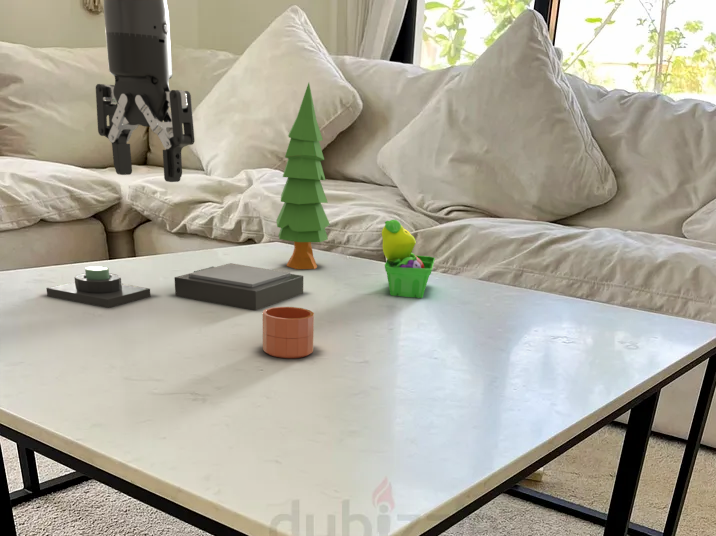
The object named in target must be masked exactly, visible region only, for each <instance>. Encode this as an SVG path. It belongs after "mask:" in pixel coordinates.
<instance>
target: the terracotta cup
mask: <svg viewBox="0 0 716 536" xmlns="http://www.w3.org/2000/svg"><path fill="white" fill-rule="evenodd" d="M314 333H315V312H313V311H312V310H310V309H306V308H303V307H296V306H273V307H267V308H266V309H265V308H264V309H263V311H262V351H264V353H266V354H268V355H269V356H272V357H275V358H281V359H299V358H304V357H305V358H306V357H308V356H309V355H311V354H313V353H314V336H315V335H314Z"/></svg>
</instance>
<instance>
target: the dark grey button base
mask: <svg viewBox="0 0 716 536" xmlns="http://www.w3.org/2000/svg"><path fill="white" fill-rule="evenodd" d="M109 276H110V279H105V280H91V279H86V273H81V274H76V275H75V276H74V281H72V282H68V283H63V284H58V285H53V286H49V287H46V296H47V297H51V298H55V299H59V300H66V301H70V302H76V303H79V304H86V305H91V306H96V307H101V308H106V309H109V308H114V307H118V306H122V305H124V304H128V303H132V302H136V301H140V300H144V299H146V298H151V296H152V295H151V288H148V287H143V286H137V285H133V284H126V283H122V276H121V275H118V274H117V273H110V272H109Z"/></svg>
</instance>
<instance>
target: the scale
mask: <svg viewBox="0 0 716 536" xmlns="http://www.w3.org/2000/svg"><path fill="white" fill-rule="evenodd" d="M173 279H174V292H175V293H174V294H175V297H178V298H185V299H189V300H190V299H191V300H195V301H201V302H207V303H211V304H217V305H222V306H229V307H233V308H234V307H235V308H239V309H246V310H250V311H258V310H262V309H265V308H268V307H270V306H273V305H275V304H279V303H281V302H283V301H287V300H290V299H292V298H295V297H298V296H301V295H303V294H304V275H300V274H294V273H291V272H288V271H283V270H276V269H271V268H270V269H269V268H264V267H257V266H251V265H244V264H239V263H231V262H229V263H226V264H222V265H217V266H209V267H206V268H202V269H201V268H200V269H198V270H194V271H192V272H189V273H186V274H182V275H177V276H174V278H173Z"/></svg>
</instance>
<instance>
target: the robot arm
mask: <svg viewBox="0 0 716 536" xmlns="http://www.w3.org/2000/svg"><path fill="white" fill-rule="evenodd" d="M168 4H169V3H168V0H103V18H104V29H105V41H106V43H105V44H106V54H107V66H108V72H109V73H110V74H111V75H112V76H114V84H107V83H106V84H105V83H97V84H96V86H95V101H96V102H95V103H96V118H97V132H98V135H99V136H101V137H104V138H106V139H108V140H109V142H110V143H111V149H112V159H113V167H114V169H115V173H116V174H117V175H121V176H127V175H128V176H129V175H132V173H133V164H132V152H131V151H132V150H131V143H129V141H130V139H131V137H132V134H133V133H134V131H135V130H137V129H138V127H139V126H142V127H146V128H147V127H149V128H150V129H151V131H152V133H154V134H156V135H157V137H158V138H159V140H160V142H161V143H162V146H163V148H164V149H162V162H163V163H162V165H163V178H164V181H165V182H168V183H179V182H180V181H181V178H182V175H183V165H182V164H183V163H182V162H183V161H182V159H183V158H182V150H183V149H184V148H185V147H187V146H193V145H194V143H195V130H194V118H193V117H194V116H193V105H192V95H191V93H190V91H188V90H182V89H170V85H169V81H170V80H171V79H172V77H173V60H172V59H173V58H172V42H171V41H172V40H171V21H170V20H171V19H170V10H169V5H168Z"/></svg>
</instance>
